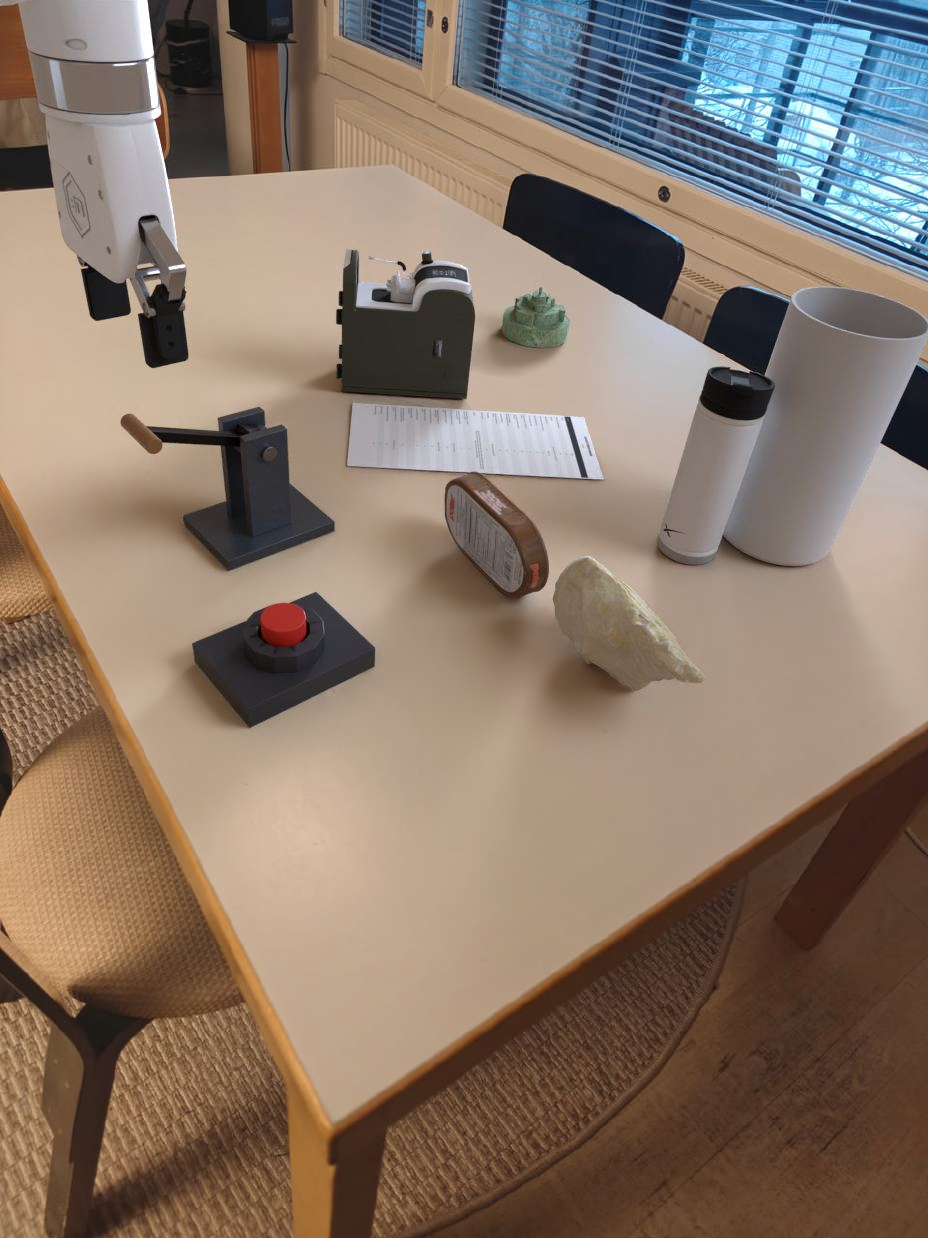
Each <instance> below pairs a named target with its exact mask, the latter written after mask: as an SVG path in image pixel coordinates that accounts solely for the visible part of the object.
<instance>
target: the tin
mask: <svg viewBox="0 0 928 1238" xmlns="http://www.w3.org/2000/svg"><path fill="white" fill-rule="evenodd" d="M444 517H445V518H444V519H445V522H446V525H447V528H448V530H449V533H450V535H451V537H452V540H453V541H454V543H455V544H456V546H457V547H458V548H459V550H460V551H461V552H462V553H463V554H464V555H465V556H466V557H467V558H468V559H469V560H470V561H471V562H472V563H473V565H474V566H476V567H477V569H478V570H479V571H480V572H481V573H482V574H483V575H484V576H485V577H486V578H487V579H488V580H489V581H490V582H491V583H492V584H493V586H495V587H496V589H497V590H498V591H499V592H500V593H502V594H503V595H504V596H506V597H508V598H511V599H517V598H518V599H519V598H522V597H525V596H528V595H530V594H532V593H537V592H540V591H542V590H543V589H544V588H545V587H546V585H547V583H548V580H549V575H550V561H549V554H548V550H547V546H546V543H545V541H544V538H543V536H542V534H541V532H540V530H539V527H538V526H537V525H536V523H535V522H534V521H533V519H531V517H530V516H529V515H528V514H527V513H526V512H525V511H524V510H522V509H521V508H520V506H519V505H517V504H516V503H515V502H514V501H513V500H511V498H510V497H508V495H506V494H505V493H504V492H503V491H502V490H501V489H500V488H499V487H498V486H497V485H496V484H494V483H493V482H492V480H490V479H489V477H487V476H486V475H485V474H483V473H479V472H470V473H466V474H463V475H461V476H458V477H455V478H452V479H451V480H449V481H448V483H447V484H446V485H445V489H444Z"/></svg>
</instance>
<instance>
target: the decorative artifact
mask: <svg viewBox="0 0 928 1238" xmlns="http://www.w3.org/2000/svg"><path fill="white" fill-rule="evenodd" d="M570 321H571V320H570V318H569V317H568V316H567V314H566V307H565V305H563V304H562V303H561V304H557V303H556V299H555V298H554V297H553V296H550V294H547V293H546V292H543V287H541V286H539V289H538V290H534V291H533V293H532V294H530V293H525V294H524V295H521V296H518V297H515V300H514V305H512V306H509V307H507V308H506V309H505V310H504V312H503V315H502V324H501V334H502V335H503V336H504V337H505V338H506V339H507V340H509V341H510V342H513V343H514V344H518V345H521V346H525V347H529V348H537V349H538V348H539V349H548V348H549V349H550V348H555V347H558V346H561V345H563V344H564V343H566V341H567V339H568V333H569V328H570V323H571V322H570Z"/></svg>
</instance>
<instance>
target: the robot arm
mask: <svg viewBox="0 0 928 1238" xmlns="http://www.w3.org/2000/svg"><path fill="white" fill-rule="evenodd" d="M14 5H17V6H18V10H19V15H20V20H21V24H22V30H23V35H24V40H25V44H26V49H27V53H28V58H29V63H30V68H31V73H32V77H33V78H32V79H33V83H34V87H35V93H36V97H37V104H38V108H39V111H40V112H41V113H42V114H44V118H45V119H44V120H45V129H46V130H45V132H46V133H45V135H46V142H47V149H48V157H49V158H48V159H49V165H50V172H51V178H52V184H53V190H54V191H53V192H54V198H55V202H56V208H57V209H56V210H57V215H58V221H59V226H60V232H61V237H62V239H63V241H64V243H65V245H66V246H67V248H68V249H69V250H70V251H71V252H73V253H74V255H76V259H77V261H78V264H79V265H80V267H81V268H80V273H81V278H82V284H83V288H84V289H83V290H84V293H85V299H86V302H87V309H88V313H89V317H90V318H91V319H92V320H93V321H96V322H101V321H106V320H111V319H116V318H122V317H125V316H129V315H130V314H131V312H132V308H131V302H130V301H131V300H130V296H129V290H128V289H129V288H128V283H127V279H129V282H130V284H131V286H132V289H133V292H134V293H135V295H136V299H137V301H138V302H139V305H140V308H141V310H142V312H139V313H137V318H138V324H139V325H138V326H139V331H140V338H141V343H142V344H141V345H142V350H143V356H144V362H145V364H146V365H147V366H148V367H149V368H151V369H157V368H161V367H165V366H166V367H167V366H169V365H175V364H178V363H183V362H186V361H187V360H188V359H189V357H190V356H189V348H188V339H187V332H186V324H185V315H184V312H185V311H186V302H185V299H186V296H187V290H186V286H185V284H186V279H187V278H186V277H187V266H186V263H185V261H184V260H183V259H182V257H181V255H180V254H179V249H178V238H177V230H176V223H175V215H174V208H173V202H172V197H171V190H170V186H169V180H168V175H167V169H166V163H165V159H164V154H163V150H162V145H161V140H160V135H159V132H158V127H157V124H156V120H155V119H157V118H158V117H160V116H161V115H162V110H161V102H160V101H161V99H160V92H159V86H158V85H159V84H158V77H157V69H156V60H155V56H154V55H155V51H154V44H153V37H152V28H151V20H150V12H149V4H148V0H0V7H2V6H3V7H4V6H14ZM147 264H151V265H153V266H146V267H140V268H138V266H141V265H147ZM159 280H160V283H158V284H156V285H155V286H154V289H153V291H152V293H151V292H150V290H149V288H148V285H147V284H146V283H148V282H151V281H159Z"/></svg>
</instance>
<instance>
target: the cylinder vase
mask: <svg viewBox="0 0 928 1238" xmlns="http://www.w3.org/2000/svg"><path fill="white" fill-rule="evenodd" d="M927 342H928V318H927V316H925V315H924V314H922V313H921V312H920V311H918V310H917V309H915V308H913V307H911V306H909V305H907V304H905V303H903V302H900V301H898V300H895V299H893V298H890V297H887V296H885V295H881V294H877V293H875V292H869V291H866V290H860V289H856V288H850V287H843V286H831V285H818V286H817V285H816V286H807V287H802V288H800V289H797V290H795V291H794V292H793V293H792V295H791V297H790V300H789V303H788V306H787V309H786V312H785V315H784V318H783V321H782V324H781V327H780V329H779V333H778V335H777V338H776V341H775V345H774V347H773V350H772V352H771V355H770V359H769V362H768V365H767V368H766V371H765V373H764V376H766V377H768V378H769V379H771V380H772V381H773V382H774V384H775V388H774V390H773V393H772V396H771V399H770V402H769V404H768V406H767V410H766V415H765V417H764V419H763V423H762V426H761V429H760V432H759V434H758V437H757V440H756V443H755V446H754V448H753V451H752V454H751V457H750V460H749V462H748V465H747V468H746V471H745V474H744V476H743V479H742V482H741V485H740V488H739V491H738V493H737V496H736V499H735V502H734V505H733V507H732V510H731V513H730V516H729V519H728V521H727V524H726V527H725V530H724V533H723V535H722V537H724V538H725V540H726V541H728V543H729V544H731V545H732V546H733V547H735V548H736V549H737V550H739V551H740V552H742V553H743V554H745V555H747V556H749V557H752V558H753V559H756V560H758V561H761V562H765V563H768V564H773V565H778V566H784V567H785V566H786V567H803V566H808V565H812V564H814V563H817V562H819V561H821V560H823V559H824V558H826V557H827V556H828V555H829V553H830V552H831V550H832V548H833V546H834V544H835V542H836V540H837V537H838V535H839V533H840V531H841V529H842V527H843V525H844V522H845V520H846V519H847V516H848V514H849V512H850V509H851V507H852V505H853V503H854V501H855V498H856V496H857V494H858V493H859V490H860V488H861V485H862V483H863V481H864V479H865V477H866V474H867V473H868V470H869V468H870V466H871V464H872V462H873V460H874V458H875V456H876V453H877V451H878V449H879V447H880V444H881V442H882V440H883V438H884V436H885V434H886V431H887V429H888V427H889V425H890V423H891V421H892V418H893V417H894V414H895V412H896V410H897V407H898V405H899V403H900V401H901V398H902V397H903V394H904V392H905V390H906V388H907V386H908V384H909V381H910V380H911V377H912V375H913V373H914V370H915V368H916V366H917V364H918V362H919V360H920V358H921V355H922V354H923V351H924V349H925V347H926V345H927Z"/></svg>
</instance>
